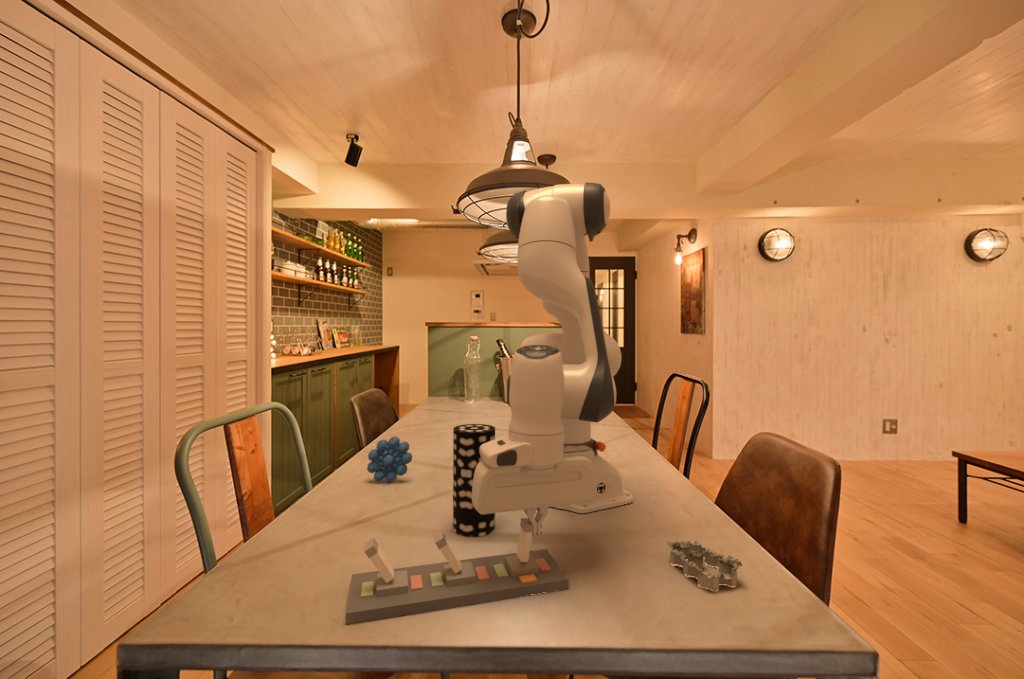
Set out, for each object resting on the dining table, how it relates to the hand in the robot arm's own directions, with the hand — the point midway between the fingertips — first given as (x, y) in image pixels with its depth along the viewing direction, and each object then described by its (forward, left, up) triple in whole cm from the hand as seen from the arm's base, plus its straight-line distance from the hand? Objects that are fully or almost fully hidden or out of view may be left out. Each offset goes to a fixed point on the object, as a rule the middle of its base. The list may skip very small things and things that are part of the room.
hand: (534, 533), depth 72 cm
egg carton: (-27, +6, -8) cm, 28 cm away
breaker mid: (+12, 0, -5) cm, 13 cm away
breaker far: (+22, 0, -5) cm, 22 cm away
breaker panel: (+12, 0, -7) cm, 14 cm away
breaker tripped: (+2, 0, -5) cm, 5 cm away
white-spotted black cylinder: (+6, -20, -7) cm, 22 cm away
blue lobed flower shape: (+22, -53, -7) cm, 58 cm away
